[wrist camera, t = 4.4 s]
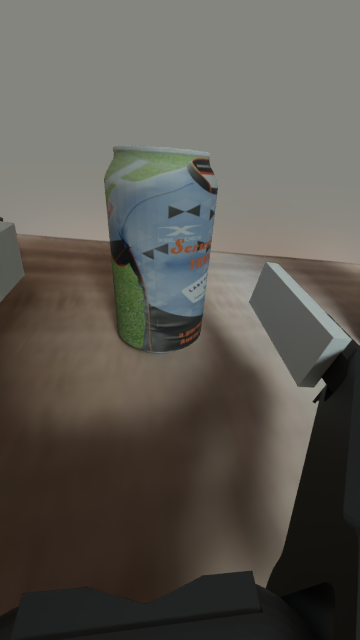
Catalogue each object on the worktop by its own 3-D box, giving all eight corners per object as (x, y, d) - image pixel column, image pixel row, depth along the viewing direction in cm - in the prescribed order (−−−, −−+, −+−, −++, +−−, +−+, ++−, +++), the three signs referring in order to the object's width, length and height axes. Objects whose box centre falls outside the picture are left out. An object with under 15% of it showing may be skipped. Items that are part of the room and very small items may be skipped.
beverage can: (180, 379, 16) (242, 162, 9) (83, 338, 17) (71, 121, 10) (205, 328, 21) (258, 163, 14) (129, 299, 22) (142, 136, 15)
